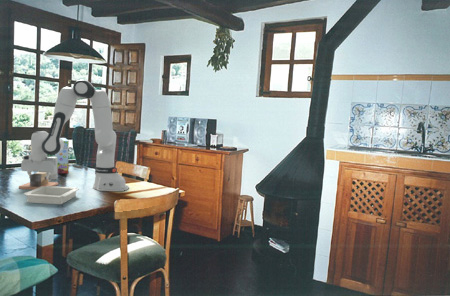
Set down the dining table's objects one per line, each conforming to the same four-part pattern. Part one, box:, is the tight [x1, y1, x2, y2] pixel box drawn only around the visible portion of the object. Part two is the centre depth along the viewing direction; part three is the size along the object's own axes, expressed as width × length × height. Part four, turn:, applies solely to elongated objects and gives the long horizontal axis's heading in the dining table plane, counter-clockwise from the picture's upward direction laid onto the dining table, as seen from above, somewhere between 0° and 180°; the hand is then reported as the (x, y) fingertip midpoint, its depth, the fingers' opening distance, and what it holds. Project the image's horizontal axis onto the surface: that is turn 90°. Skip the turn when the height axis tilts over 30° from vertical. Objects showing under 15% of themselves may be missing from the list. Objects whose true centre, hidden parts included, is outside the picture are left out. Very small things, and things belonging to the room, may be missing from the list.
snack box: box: [54, 137, 70, 175], centre depth 252 cm, size 22×9×26 cm, turn 33°
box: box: [29, 172, 50, 187], centre depth 200 cm, size 5×12×7 cm, turn 2°
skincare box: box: [47, 156, 58, 181], centre depth 222 cm, size 8×7×16 cm
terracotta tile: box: [18, 181, 59, 191], centre depth 200 cm, size 16×16×2 cm
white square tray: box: [23, 185, 80, 205], centre depth 176 cm, size 22×22×4 cm
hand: (38, 178), depth 199 cm, fingers open, 8 cm apart
